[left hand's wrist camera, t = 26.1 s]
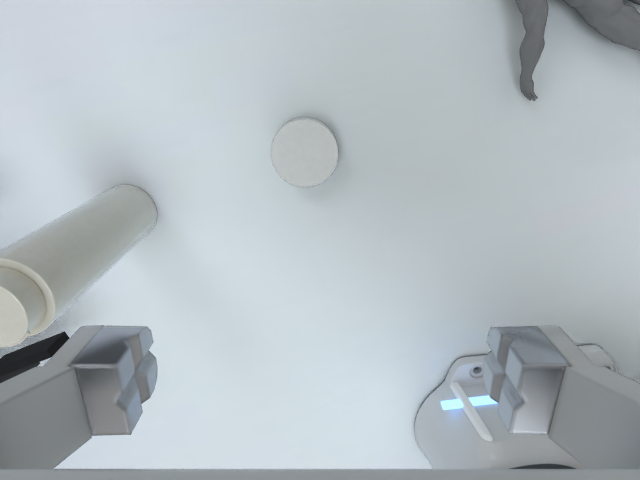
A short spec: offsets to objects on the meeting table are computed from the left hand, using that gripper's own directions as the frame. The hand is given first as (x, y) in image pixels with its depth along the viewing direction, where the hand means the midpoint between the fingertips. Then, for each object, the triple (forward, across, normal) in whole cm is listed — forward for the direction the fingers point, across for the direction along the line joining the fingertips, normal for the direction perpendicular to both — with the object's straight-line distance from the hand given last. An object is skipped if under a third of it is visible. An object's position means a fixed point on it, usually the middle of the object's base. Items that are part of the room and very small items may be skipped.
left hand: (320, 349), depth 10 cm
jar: (+29, +17, +6) cm, 34 cm away
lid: (+27, +1, 0) cm, 27 cm away
